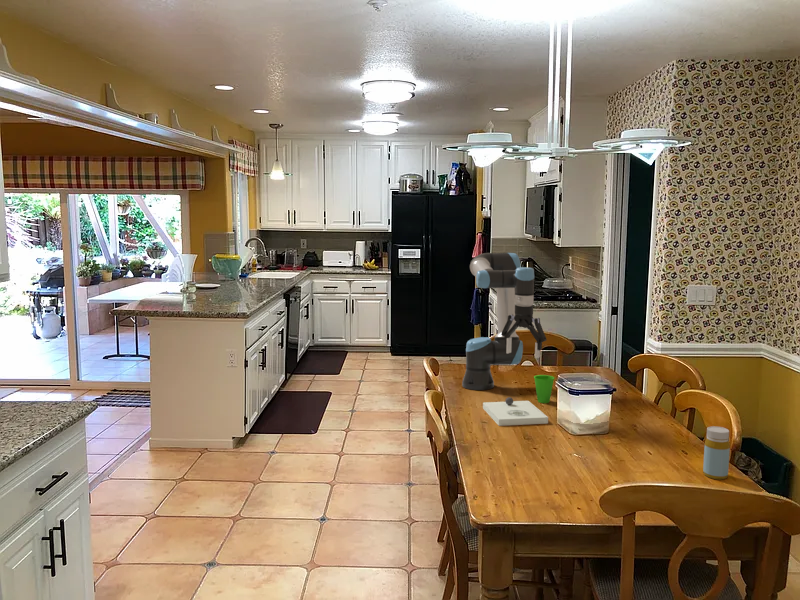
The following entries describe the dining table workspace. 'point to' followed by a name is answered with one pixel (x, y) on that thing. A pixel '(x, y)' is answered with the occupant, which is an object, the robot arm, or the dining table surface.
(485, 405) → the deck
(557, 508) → the dining table surface
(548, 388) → the cup
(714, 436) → the bottle
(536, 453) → the dining table surface
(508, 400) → the ball
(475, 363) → the robot arm
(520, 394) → the dining table surface
